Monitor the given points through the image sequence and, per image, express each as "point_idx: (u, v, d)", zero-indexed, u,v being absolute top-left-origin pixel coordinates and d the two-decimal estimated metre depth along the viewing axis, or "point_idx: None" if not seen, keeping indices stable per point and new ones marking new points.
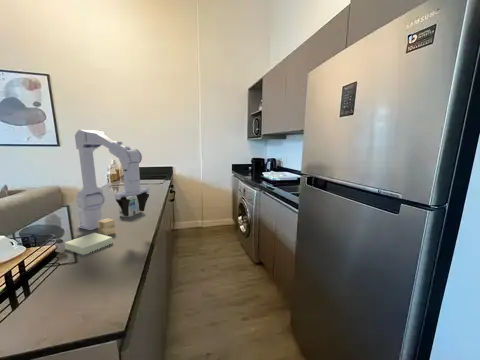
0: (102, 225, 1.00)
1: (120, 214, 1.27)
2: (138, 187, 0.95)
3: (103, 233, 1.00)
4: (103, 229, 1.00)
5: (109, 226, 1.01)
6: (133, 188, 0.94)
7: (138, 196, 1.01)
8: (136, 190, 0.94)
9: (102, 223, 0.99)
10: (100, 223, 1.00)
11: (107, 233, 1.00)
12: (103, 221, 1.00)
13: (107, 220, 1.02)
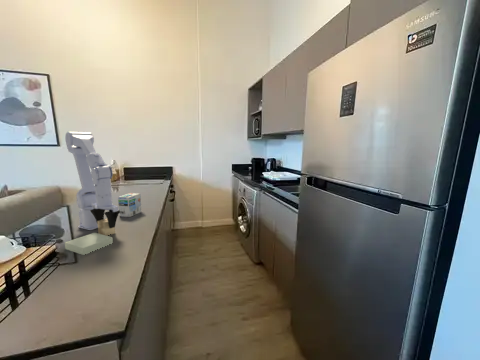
0: (102, 225, 1.00)
1: (120, 214, 1.27)
2: (98, 202, 0.98)
3: (103, 233, 1.00)
4: (103, 229, 1.00)
5: None
6: None
7: None
8: (97, 205, 0.98)
9: (102, 223, 0.99)
10: (100, 223, 1.00)
11: (107, 233, 1.00)
12: (103, 221, 1.00)
13: (107, 220, 1.02)
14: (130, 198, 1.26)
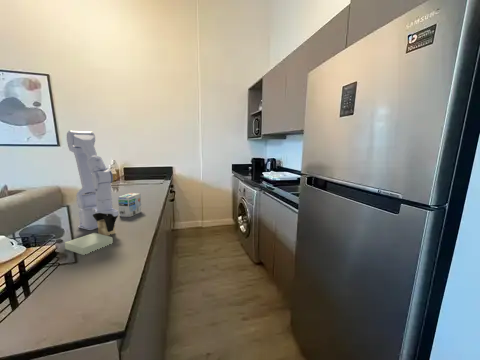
0: (102, 225, 1.00)
1: (120, 214, 1.27)
2: (99, 207, 0.98)
3: (103, 233, 1.00)
4: (103, 229, 1.00)
5: None
6: (96, 206, 0.99)
7: None
8: (97, 209, 0.99)
9: (102, 223, 0.99)
10: (100, 223, 1.00)
11: (107, 233, 1.00)
12: (103, 221, 1.00)
13: None
14: (130, 198, 1.26)
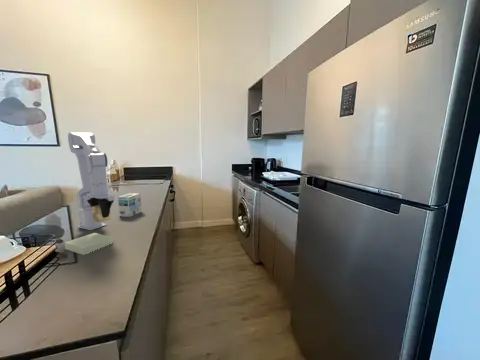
0: (97, 210, 0.96)
1: (120, 214, 1.27)
2: (93, 191, 0.94)
3: (98, 219, 0.96)
4: (98, 215, 0.96)
5: None
6: (91, 191, 0.95)
7: None
8: (92, 193, 0.95)
9: (97, 208, 0.95)
10: (95, 208, 0.96)
11: (102, 219, 0.96)
12: (98, 206, 0.96)
13: None
14: (130, 198, 1.26)
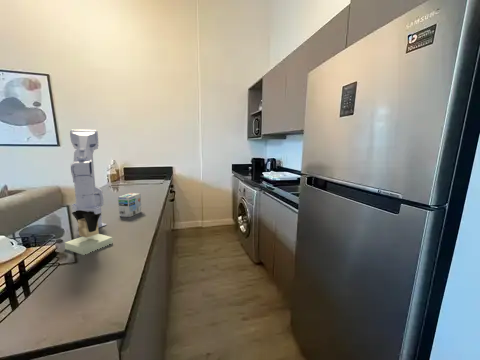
0: (83, 224, 0.87)
1: (120, 214, 1.27)
2: (78, 203, 0.85)
3: (84, 233, 0.87)
4: (84, 229, 0.87)
5: None
6: (76, 203, 0.86)
7: None
8: (77, 206, 0.86)
9: (83, 222, 0.86)
10: (81, 222, 0.87)
11: (89, 233, 0.87)
12: (84, 220, 0.87)
13: None
14: (130, 198, 1.26)
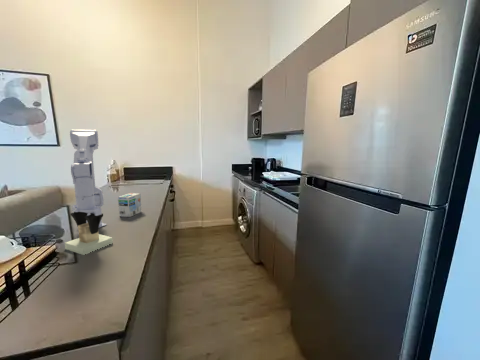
0: (83, 230, 0.87)
1: (120, 214, 1.27)
2: (78, 205, 0.85)
3: (84, 239, 0.87)
4: (84, 235, 0.87)
5: None
6: None
7: None
8: (77, 207, 0.86)
9: (83, 228, 0.87)
10: (81, 228, 0.87)
11: (89, 239, 0.88)
12: (84, 225, 0.88)
13: None
14: (130, 198, 1.26)
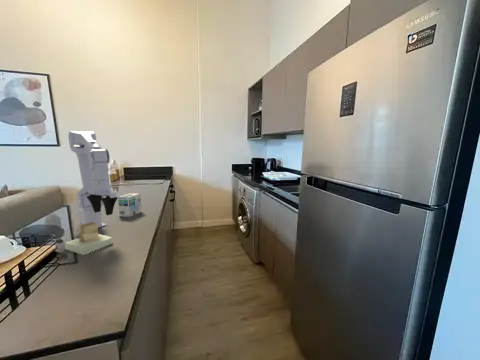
0: (83, 230, 0.87)
1: (120, 214, 1.27)
2: (95, 188, 0.92)
3: (84, 239, 0.87)
4: (84, 234, 0.87)
5: (91, 231, 0.88)
6: (92, 187, 0.94)
7: None
8: (93, 190, 0.93)
9: (83, 228, 0.87)
10: (81, 228, 0.87)
11: (88, 239, 0.88)
12: (84, 225, 0.88)
13: (89, 224, 0.89)
14: (130, 198, 1.26)
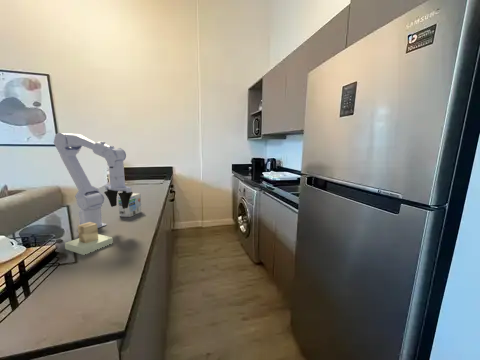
0: (82, 230, 0.87)
1: (120, 214, 1.27)
2: (112, 184, 1.02)
3: (83, 239, 0.87)
4: (83, 235, 0.87)
5: (91, 231, 0.88)
6: (110, 183, 1.03)
7: None
8: (111, 186, 1.02)
9: (82, 228, 0.87)
10: (80, 228, 0.87)
11: (88, 239, 0.88)
12: (84, 225, 0.88)
13: (89, 224, 0.89)
14: (130, 198, 1.26)
